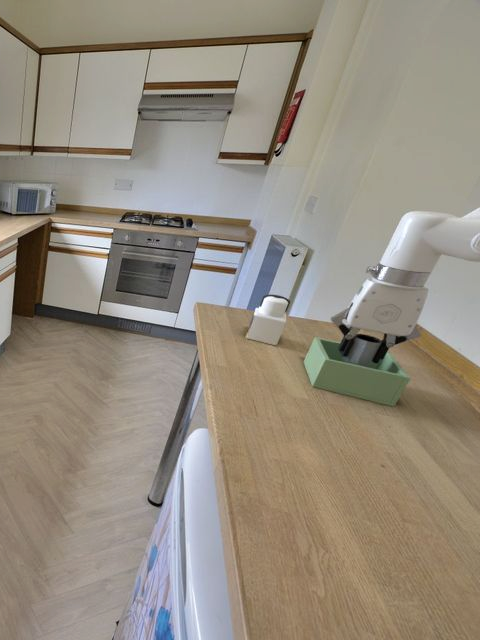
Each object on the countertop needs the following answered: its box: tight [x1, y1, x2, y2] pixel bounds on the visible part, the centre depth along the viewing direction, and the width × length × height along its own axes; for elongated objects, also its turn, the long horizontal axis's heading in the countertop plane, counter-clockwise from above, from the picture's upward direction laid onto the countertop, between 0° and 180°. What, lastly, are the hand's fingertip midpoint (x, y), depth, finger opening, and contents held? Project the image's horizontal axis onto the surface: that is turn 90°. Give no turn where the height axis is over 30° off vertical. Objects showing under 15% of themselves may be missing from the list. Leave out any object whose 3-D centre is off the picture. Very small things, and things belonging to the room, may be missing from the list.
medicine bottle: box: [245, 294, 291, 346], centre depth 110 cm, size 7×7×12 cm
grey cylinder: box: [341, 333, 382, 367], centre depth 89 cm, size 4×4×10 cm
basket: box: [303, 336, 412, 408], centre depth 90 cm, size 14×14×7 cm
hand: (358, 356), depth 89 cm, fingers closed on grey cylinder, 4 cm apart
